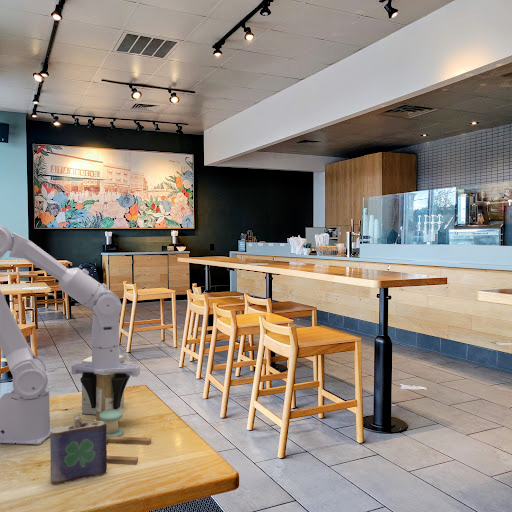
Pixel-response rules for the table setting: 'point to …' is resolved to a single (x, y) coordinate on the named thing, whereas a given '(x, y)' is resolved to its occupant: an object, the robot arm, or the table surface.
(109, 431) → the bobbin
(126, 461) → the u-shaped brown frame
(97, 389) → the spice jar
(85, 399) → the supplement box
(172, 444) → the table surface
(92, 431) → the flask
